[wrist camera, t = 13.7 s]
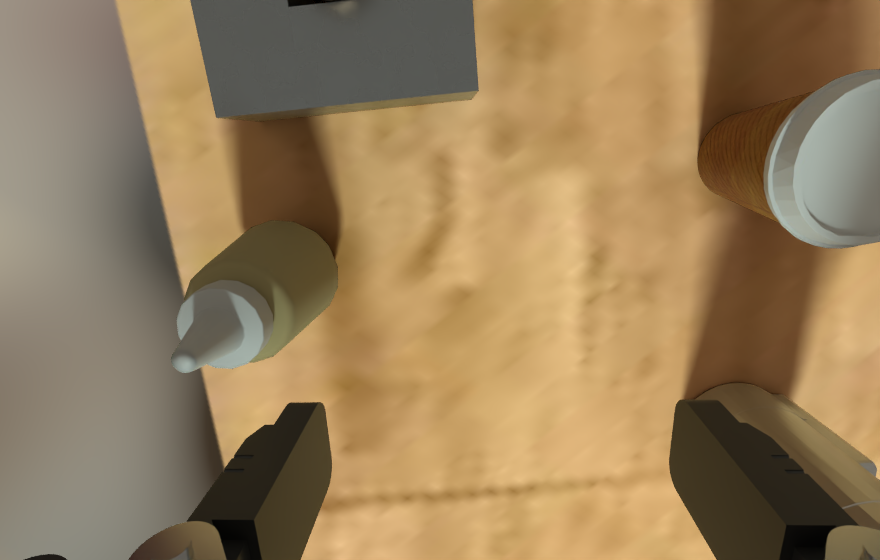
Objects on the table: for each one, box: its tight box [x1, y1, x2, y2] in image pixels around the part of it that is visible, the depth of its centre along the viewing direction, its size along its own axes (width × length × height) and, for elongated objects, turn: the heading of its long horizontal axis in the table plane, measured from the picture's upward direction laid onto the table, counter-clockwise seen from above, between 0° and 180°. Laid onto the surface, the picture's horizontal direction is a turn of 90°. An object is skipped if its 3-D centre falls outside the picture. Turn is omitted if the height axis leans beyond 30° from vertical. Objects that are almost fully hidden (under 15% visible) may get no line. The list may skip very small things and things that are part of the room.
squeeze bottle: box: [171, 220, 338, 373], centre depth 30 cm, size 8×8×18 cm
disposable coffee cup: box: [698, 69, 880, 248], centre depth 31 cm, size 10×10×12 cm
